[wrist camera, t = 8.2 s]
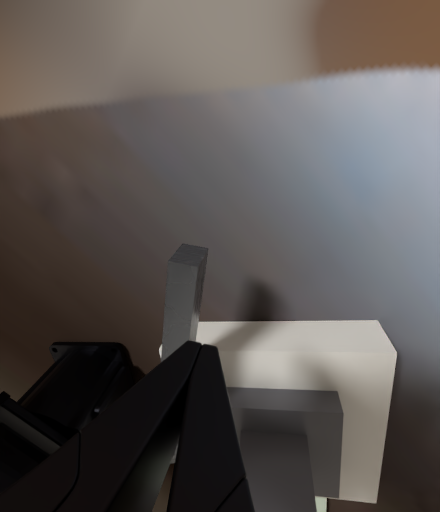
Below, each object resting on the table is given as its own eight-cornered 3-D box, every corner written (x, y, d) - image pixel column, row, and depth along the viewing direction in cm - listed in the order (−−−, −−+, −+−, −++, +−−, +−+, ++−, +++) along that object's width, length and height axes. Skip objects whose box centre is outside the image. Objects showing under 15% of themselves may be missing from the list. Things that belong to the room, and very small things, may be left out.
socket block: (201, 446, 26) (193, 483, 23) (173, 322, 21) (158, 350, 18) (363, 460, 23) (376, 503, 20) (377, 320, 18) (397, 352, 15)
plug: (229, 430, 24) (209, 576, 16) (216, 357, 21) (185, 491, 13) (326, 437, 22) (359, 603, 14) (328, 359, 19) (371, 513, 11)
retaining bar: (194, 410, 19) (178, 466, 16) (169, 404, 19) (148, 458, 16) (220, 238, 14) (205, 268, 11) (185, 231, 14) (160, 259, 11)
